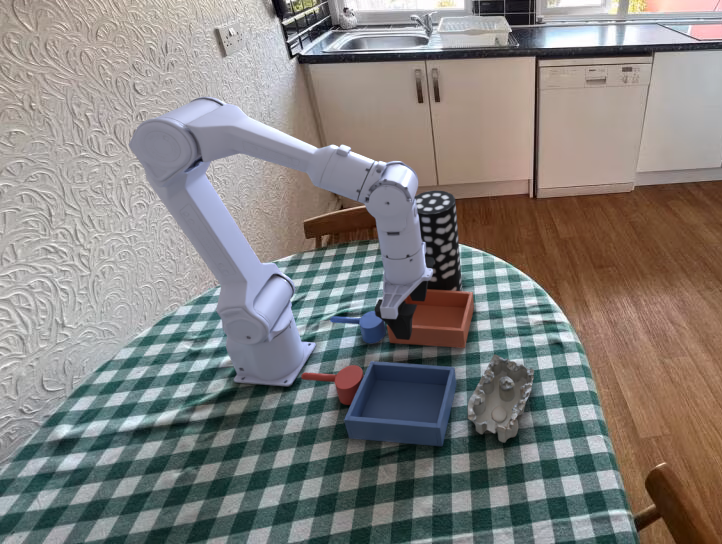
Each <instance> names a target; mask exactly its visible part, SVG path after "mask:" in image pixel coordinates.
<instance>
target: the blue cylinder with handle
mask: <svg viewBox="0 0 722 544" xmlns="http://www.w3.org/2000/svg"><path fill="white" fill-rule="evenodd" d="M329 321H330V323H332V324H333V323H334V324H349V325H350V324H351V325H359V329H360V333H361V337H362V340H363V342H365V343H366V344H376V343H379V342H380V341H382V340H383V339H384V337H385V336H386V334H387V328H386V325H385V324H386V323H385V322H384V321H383V320H382V319H380V318H379V317H377V316H376V315H375V310H370V311H367V312H366V313H364V314H363V315H362V316H361V317H350V316H336V315H335V316H331V317H330V319H329Z"/></svg>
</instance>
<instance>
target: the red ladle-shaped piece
mask: <svg viewBox="0 0 722 544" xmlns="http://www.w3.org/2000/svg"><path fill="white" fill-rule="evenodd" d="M364 375H365V374H364V371H363V369H362V368H361V367H360V366H359V365H357V364H350V365H347V366H345V367H343V368H342V369H340V370H339V371H338V372H337V374H333V373H320V372H308V371H306V372H303V373H302V374H301V375H300V378H301V379H302V380H304V381H315V382H327V383H328V382H329V383H334V387H335V389H336V393H337V396H338V397H337V398H338V400H339V402H340V403H341V404H343V405H344V406H351V403H352V401H353V399H354V397H355V395H356V392H357V390H358V388H359V386H360V384H361V381H362V379H363V377H364Z"/></svg>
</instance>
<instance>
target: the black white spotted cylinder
mask: <svg viewBox="0 0 722 544" xmlns="http://www.w3.org/2000/svg"><path fill="white" fill-rule="evenodd" d="M414 198H415V199H416V205H417V213H418V216H419V224H420V232H421V241H422V242H425V243H426V253H425V257H432V258H434V265H433V267H432V269H433V275H432V277H431V279H430V280H429V281H428V286H427V289H431V290H448V291H462V287H463V281H462V268H461V267H462V266H461V255H460V254H461V253H460V243H459V241H460V240H459V231H458V230H459V228H458V218H457V217H458V216H457V215H458V214H457V205H456V203H457V202H456V197H455V196H454V195H453V193H450V192H448V191H445V190H428V191H424V192H421V193H419V194H416V195H415V197H414Z"/></svg>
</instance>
